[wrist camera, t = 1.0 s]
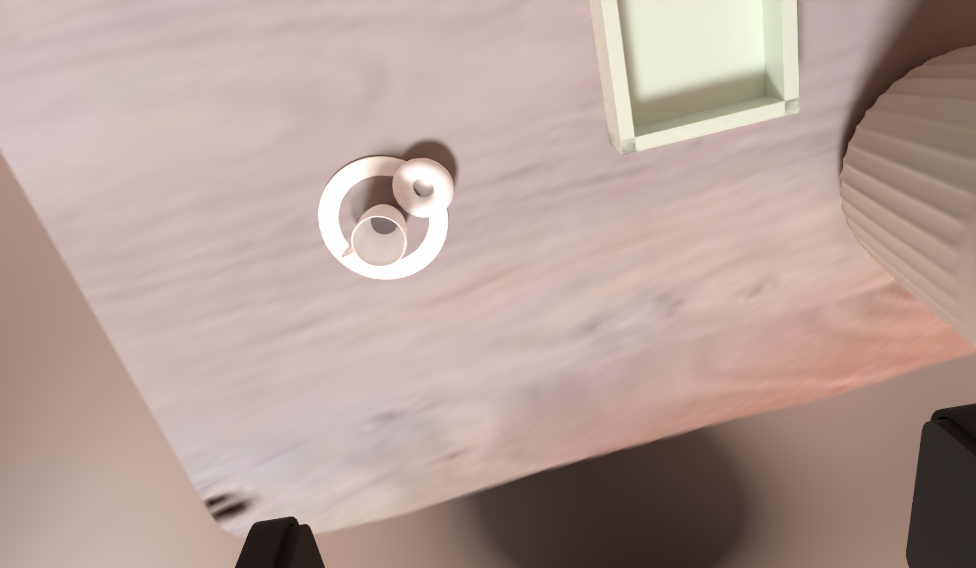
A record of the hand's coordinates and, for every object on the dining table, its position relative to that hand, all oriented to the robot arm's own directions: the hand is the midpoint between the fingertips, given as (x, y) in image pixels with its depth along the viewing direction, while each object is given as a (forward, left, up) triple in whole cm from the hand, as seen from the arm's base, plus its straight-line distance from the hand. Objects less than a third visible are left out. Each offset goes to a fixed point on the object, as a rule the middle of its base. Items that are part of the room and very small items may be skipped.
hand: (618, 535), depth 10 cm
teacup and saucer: (+5, -5, -31) cm, 32 cm away
